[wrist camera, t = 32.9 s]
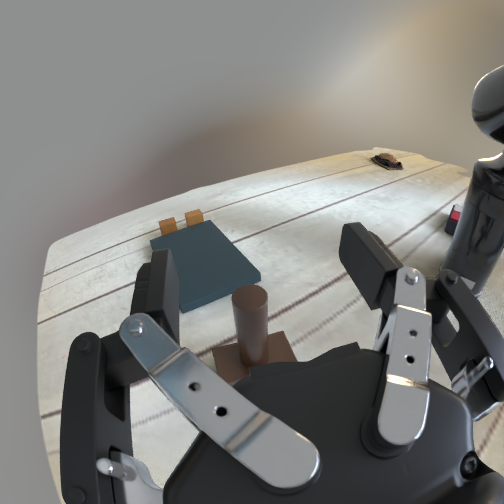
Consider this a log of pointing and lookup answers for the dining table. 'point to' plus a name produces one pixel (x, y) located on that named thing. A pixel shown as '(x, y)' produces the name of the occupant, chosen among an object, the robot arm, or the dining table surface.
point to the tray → (206, 264)
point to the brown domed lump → (387, 161)
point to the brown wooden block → (194, 217)
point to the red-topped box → (453, 219)
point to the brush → (251, 337)
